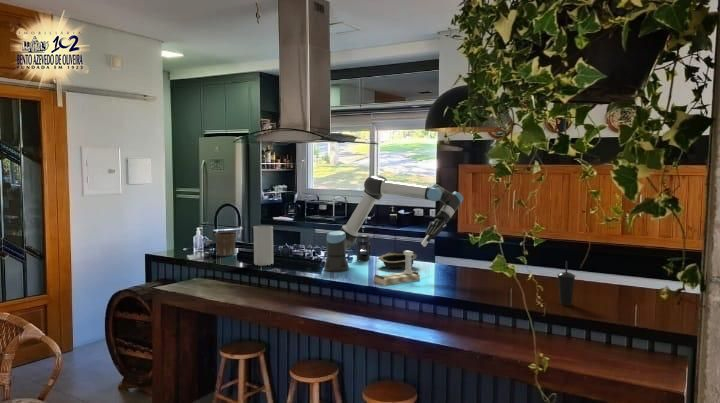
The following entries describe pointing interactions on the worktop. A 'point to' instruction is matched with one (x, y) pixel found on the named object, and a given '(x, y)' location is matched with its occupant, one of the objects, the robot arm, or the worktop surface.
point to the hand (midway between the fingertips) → (422, 245)
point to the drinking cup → (566, 287)
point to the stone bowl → (395, 259)
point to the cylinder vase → (263, 245)
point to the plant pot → (225, 243)
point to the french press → (363, 256)
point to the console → (396, 278)
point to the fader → (408, 262)
